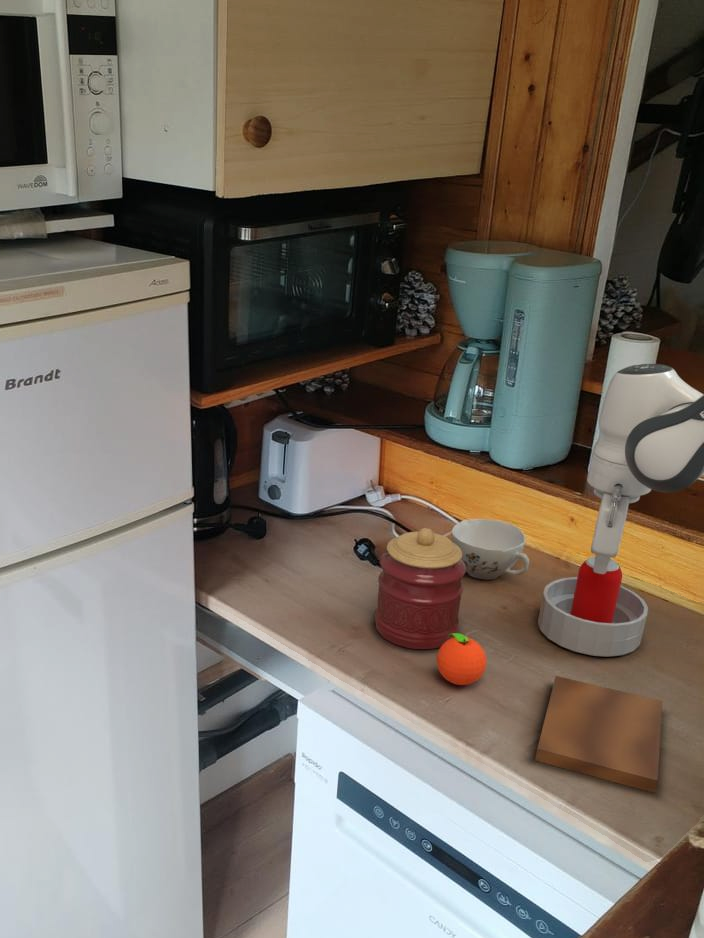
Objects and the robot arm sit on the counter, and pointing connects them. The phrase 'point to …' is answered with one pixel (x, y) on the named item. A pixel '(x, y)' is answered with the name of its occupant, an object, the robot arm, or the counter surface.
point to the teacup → (490, 547)
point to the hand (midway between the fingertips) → (602, 558)
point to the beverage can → (596, 592)
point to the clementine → (461, 660)
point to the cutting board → (602, 733)
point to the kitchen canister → (419, 590)
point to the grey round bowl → (591, 622)
